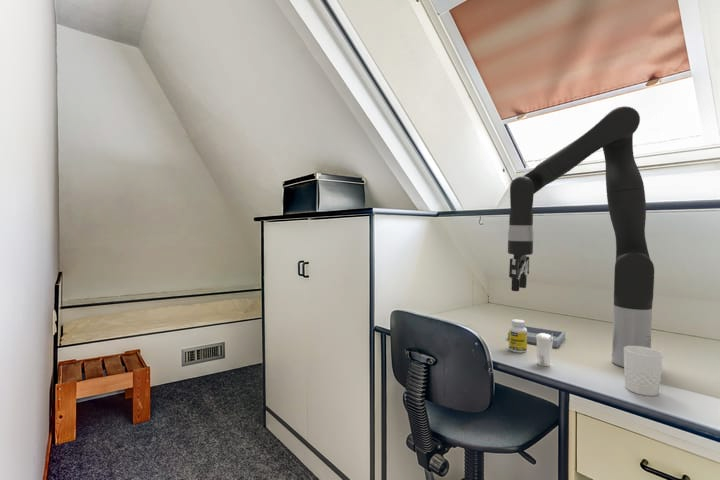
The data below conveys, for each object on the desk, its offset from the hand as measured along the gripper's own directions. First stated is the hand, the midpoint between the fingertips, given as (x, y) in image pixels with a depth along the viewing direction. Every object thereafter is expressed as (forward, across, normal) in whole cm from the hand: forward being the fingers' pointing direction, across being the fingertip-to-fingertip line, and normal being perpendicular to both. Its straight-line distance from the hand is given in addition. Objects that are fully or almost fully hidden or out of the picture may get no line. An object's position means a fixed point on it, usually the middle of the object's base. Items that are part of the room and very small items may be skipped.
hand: (519, 289), depth 126 cm
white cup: (+20, -13, -33) cm, 41 cm away
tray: (+20, +17, -2) cm, 26 cm away
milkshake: (+20, -9, -10) cm, 24 cm away
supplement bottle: (+20, 0, 0) cm, 20 cm away
